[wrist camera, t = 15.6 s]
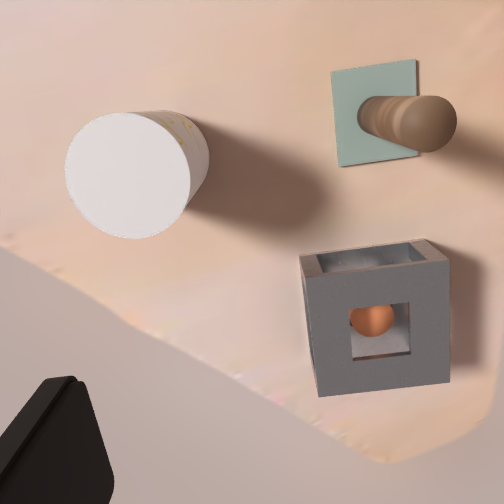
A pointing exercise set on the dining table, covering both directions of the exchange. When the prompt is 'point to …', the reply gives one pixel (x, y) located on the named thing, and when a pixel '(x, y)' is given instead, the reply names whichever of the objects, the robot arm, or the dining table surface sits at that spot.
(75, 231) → the dining table surface
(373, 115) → the brown wooden rod
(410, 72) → the mat
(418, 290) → the guard cage
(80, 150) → the cup
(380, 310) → the breaker plunger
